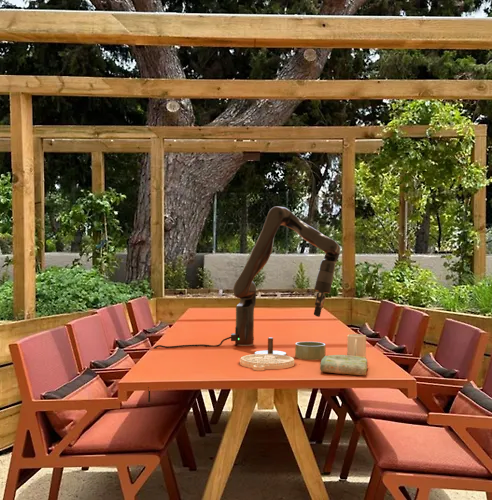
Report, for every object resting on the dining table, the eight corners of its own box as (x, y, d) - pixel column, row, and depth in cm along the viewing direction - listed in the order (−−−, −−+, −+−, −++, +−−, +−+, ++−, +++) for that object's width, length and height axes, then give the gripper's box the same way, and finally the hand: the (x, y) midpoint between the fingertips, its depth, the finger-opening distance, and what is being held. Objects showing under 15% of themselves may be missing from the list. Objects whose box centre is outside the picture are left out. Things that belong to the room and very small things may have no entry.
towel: (368, 366, 254) (368, 354, 254) (365, 377, 233) (366, 363, 233) (325, 364, 258) (325, 352, 258) (319, 374, 237) (319, 361, 237)
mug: (363, 366, 254) (363, 338, 254) (343, 365, 257) (343, 337, 257) (367, 361, 265) (367, 334, 265) (348, 360, 268) (348, 333, 268)
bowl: (295, 360, 266) (296, 346, 266) (294, 355, 280) (294, 341, 280) (326, 361, 266) (326, 346, 266) (323, 355, 279) (323, 341, 279)
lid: (254, 357, 272) (254, 340, 272) (254, 352, 286) (254, 335, 287) (286, 358, 271) (287, 340, 271) (285, 352, 286) (285, 335, 286)
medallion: (299, 360, 266) (299, 355, 266) (285, 372, 240) (285, 366, 240) (248, 357, 272) (249, 352, 272) (229, 368, 246) (229, 362, 246)
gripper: (317, 282, 289) (310, 315, 287) (315, 278, 275) (307, 313, 273) (332, 285, 287) (325, 318, 285) (331, 281, 274) (323, 316, 272)
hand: (316, 315), depth 279 cm, fingers open, 8 cm apart
